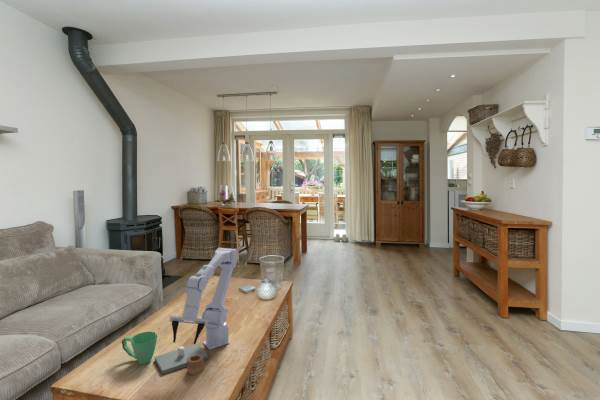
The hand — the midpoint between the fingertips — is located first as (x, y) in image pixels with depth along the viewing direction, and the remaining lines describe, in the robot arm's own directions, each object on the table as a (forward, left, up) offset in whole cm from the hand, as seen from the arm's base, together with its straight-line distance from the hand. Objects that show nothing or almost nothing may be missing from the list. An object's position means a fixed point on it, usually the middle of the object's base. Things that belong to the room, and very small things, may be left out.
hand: (184, 342), depth 126 cm
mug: (+13, -18, -11) cm, 25 cm away
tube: (-3, +3, -11) cm, 12 cm away
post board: (-1, -8, -11) cm, 14 cm away
